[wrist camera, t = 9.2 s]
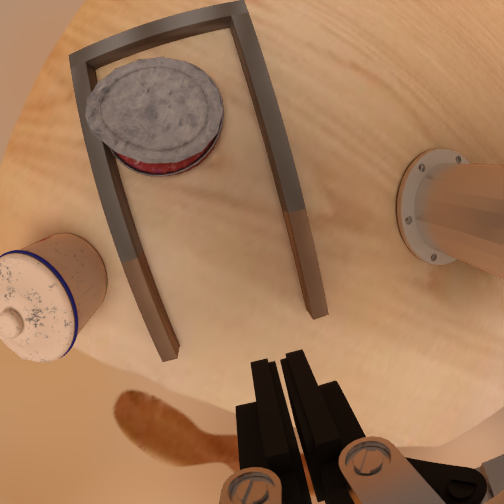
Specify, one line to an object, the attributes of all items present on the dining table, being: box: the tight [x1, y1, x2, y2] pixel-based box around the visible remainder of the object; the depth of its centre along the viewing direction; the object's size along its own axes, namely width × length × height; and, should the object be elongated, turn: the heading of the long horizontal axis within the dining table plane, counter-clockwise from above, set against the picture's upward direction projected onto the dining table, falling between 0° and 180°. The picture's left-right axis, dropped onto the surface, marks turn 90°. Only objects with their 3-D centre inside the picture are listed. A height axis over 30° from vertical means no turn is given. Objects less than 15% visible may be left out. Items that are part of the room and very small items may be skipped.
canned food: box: [85, 57, 224, 176], centre depth 23 cm, size 11×10×10 cm
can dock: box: [69, 0, 329, 362], centre depth 26 cm, size 16×30×2 cm, turn 15°
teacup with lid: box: [0, 233, 107, 362], centre depth 22 cm, size 12×9×12 cm
